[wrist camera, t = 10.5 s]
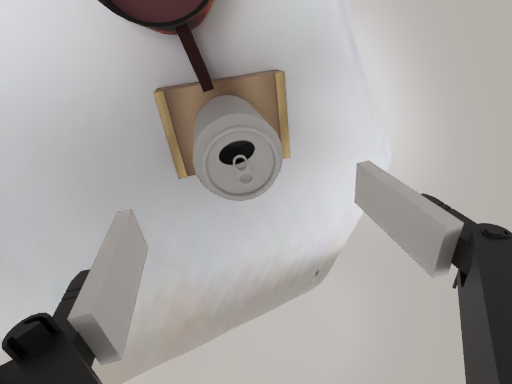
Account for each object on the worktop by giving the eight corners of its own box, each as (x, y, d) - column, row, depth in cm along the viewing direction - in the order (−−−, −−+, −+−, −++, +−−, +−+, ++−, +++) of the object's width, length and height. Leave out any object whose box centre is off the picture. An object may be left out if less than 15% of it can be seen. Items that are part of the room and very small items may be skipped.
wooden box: (180, 168, 36) (178, 178, 33) (157, 88, 31) (153, 92, 28) (283, 148, 37) (290, 157, 34) (276, 69, 32) (284, 71, 29)
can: (248, 83, 30) (275, 103, 19) (266, 146, 33) (297, 190, 23) (183, 106, 29) (174, 138, 19) (209, 166, 33) (213, 221, 23)
